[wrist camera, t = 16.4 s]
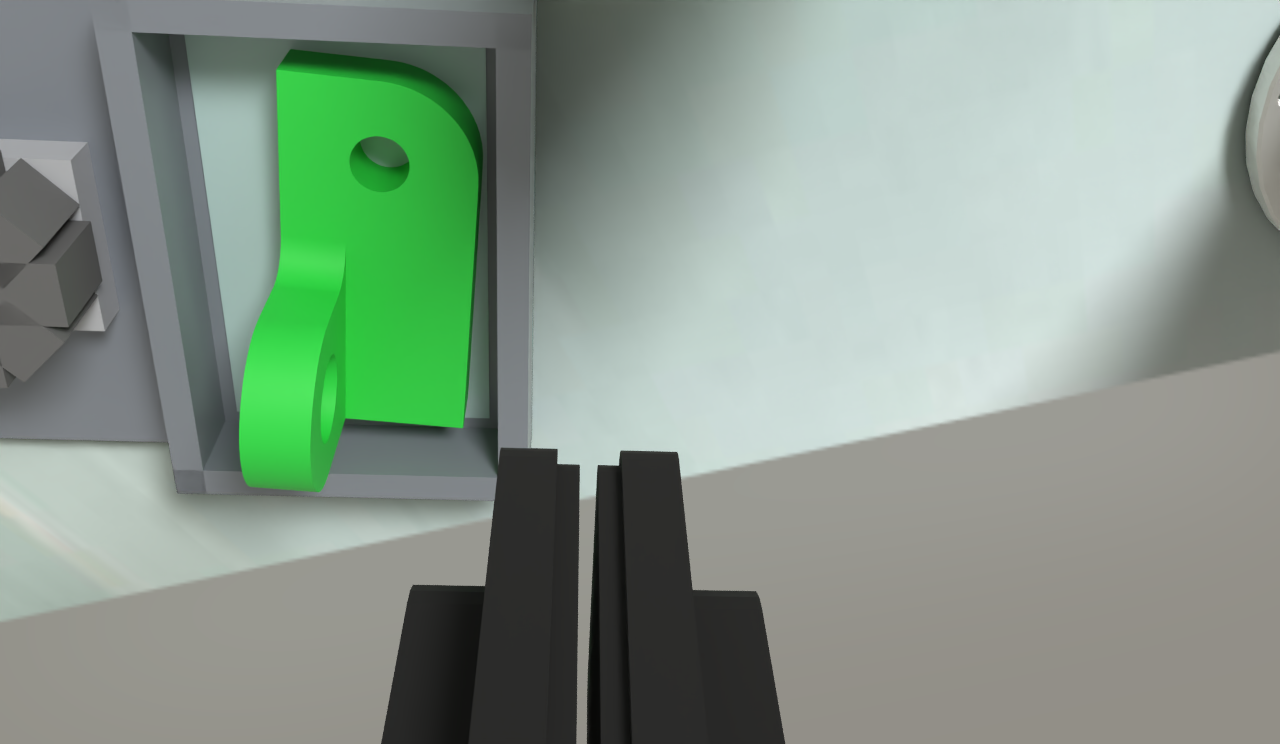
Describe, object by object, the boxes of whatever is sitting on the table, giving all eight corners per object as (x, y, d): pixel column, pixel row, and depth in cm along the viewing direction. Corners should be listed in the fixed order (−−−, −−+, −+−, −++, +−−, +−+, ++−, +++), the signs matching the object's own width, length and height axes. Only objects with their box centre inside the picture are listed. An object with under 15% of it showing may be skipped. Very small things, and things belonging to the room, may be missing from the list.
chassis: (536, -23, 37) (529, 27, 33) (531, 436, 46) (525, 524, 42) (-178, -57, 36) (-288, -10, 32) (-42, 420, 45) (-112, 511, 40)
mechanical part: (467, 396, 44) (445, 540, 37) (297, 381, 43) (243, 524, 37) (489, 71, 38) (466, 172, 31) (290, 48, 37) (223, 146, 30)
